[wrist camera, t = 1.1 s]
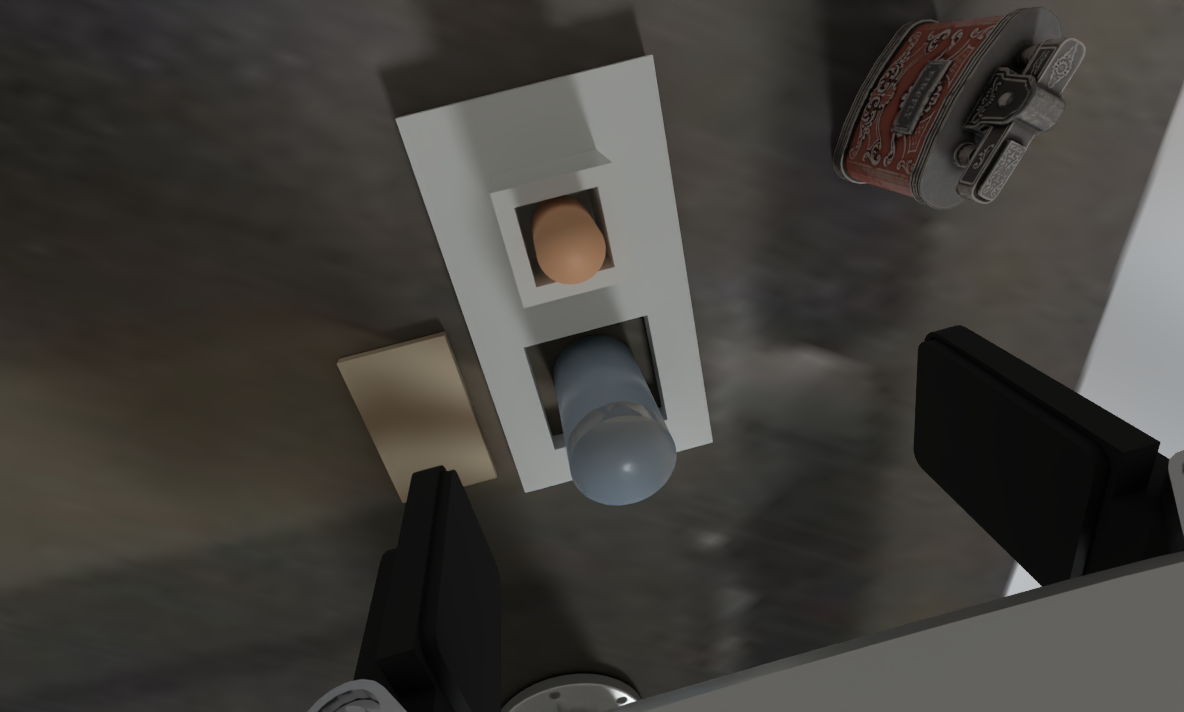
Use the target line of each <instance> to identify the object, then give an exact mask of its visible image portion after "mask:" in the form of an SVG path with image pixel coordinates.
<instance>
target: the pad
mask: <svg viewBox="0 0 1184 712" xmlns="http://www.w3.org/2000/svg"><path fill="white" fill-rule="evenodd" d="M337 366H338V368H339V370H340V372H341V374H342V376H343V378H344V381H345V383H346V385H347V387H348V389H349V391H350V393H351V395H352V397H353V400H354V402H355V404H356V406H357V408H358V410H359V412H360V414H361V416H362V419H363V421H364V423H365V425H366V427H367V429H368V431H369V433H370V435H371V438H372V440H373V442H374V444H375V446H376V448H377V450H378V452H379V454H380V457H381V459H382V461H383V463H384V465H385V467H386V469H387V471H388V474H389V476H390V478H391V480H392V482H393V484H394V486H395V488H396V490H397V493H398V495H399V497H400V499H401V501H402V503H405V502H406V501H407V496H408V491H409V487H410V482H411V477H412V474H413V473H414V472H418V471H421V470H425V469H429V468H432V467H436V466H440V465H443V466H444V467H445V468H446V470H447V471H450V470H456V472H457V474H458V476H459V478H460V480H461V483H462V485H463V487H464V486H468V485H472V484H476V483H479V482H483V481H487V480H490V479H494V478H497V471H496V468H495V465H494V462H493V460H492V457H491V454H490V452H489V449H488V446H487V443H486V441H485V438H484V435H483V433H482V430H481V427H480V424H479V422H478V419H477V416H476V414H475V411H474V408H473V405H472V403H471V400H470V397H469V394H468V392H467V389H466V386H465V384H464V381H463V378H462V375H461V373H460V370H459V367H458V365H457V362H456V359H455V356H454V354H453V351H452V348H451V346H450V343H449V340H448V337H447V335H446V332H445V331H444V332H440V333H436V334H432V335H428V336H425V337H421V338H417V339H413V340H409V341H405V342H402V343H398V344H394V345H390V346H386V347H382V348H379V349H375V350H371V351H367V352H363V353H359V354H356V355H352V356H348V357H344V358H340V359H339V360H338V362H337Z"/></svg>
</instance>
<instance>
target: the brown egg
mask: <svg viewBox="0 0 1184 712" xmlns="http://www.w3.org/2000/svg"><path fill="white" fill-rule="evenodd" d="M531 232H532V236H533V241H534V246H535V251H536V256H537V260H538V263H539V265H540V267H541V269H542V270H543V272H544V273H545V274H546V275H547V276H548V277H549V278H551V279H552V280H554V281H556V282H559V283H562V284H578V283H582V282H584V281H586V280H588V279H590V278H591V277H593V276H594V275H595V274H596V273H597V272H598V270H599V269H600V268H601V266H602V264H603V261H604V258H605V253H606V246H605V241H604V237H603V235H602V233H601V232H600V230H599V228H598V227H597V225H596V224H595V222H594V220H593V219H592V217H591V216H590V214H589V213H588V211H587V209H586V208H585V206H584V205H583V204H582V203H581V202H580V201H579V200H577V199H576V198H574V197H572V196H569V195H563V196H559V197H555V198H551V199H547V200H543V201H542V202H540V203H539V204H538V206H537V207H536V208H535V210H534V212H533V214H532V218H531Z"/></svg>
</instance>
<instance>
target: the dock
mask: <svg viewBox="0 0 1184 712" xmlns="http://www.w3.org/2000/svg"><path fill="white" fill-rule="evenodd" d="M396 122H397V125H398V128H399V131H400V134H401V137H402V139H403V142H404V145H405V148H406V151H407V154H408V157H409V160H410V162H411V165H412V168H413V171H414V174H415V177H416V180H417V183H418V185H419V188H420V191H421V194H422V197H423V200H424V203H425V206H426V209H427V211H428V214H429V217H430V220H431V223H432V226H433V229H434V232H435V234H436V237H437V240H438V243H439V246H440V249H441V252H442V255H443V257H444V260H445V263H446V266H447V269H448V272H449V275H450V278H451V280H452V283H453V286H454V289H455V292H456V295H457V298H458V301H459V303H460V306H461V309H462V312H463V315H464V318H465V321H466V324H467V327H468V329H469V332H470V335H471V338H472V341H473V344H474V347H475V350H476V352H477V355H478V358H479V361H480V364H481V367H482V370H483V373H484V375H485V378H486V381H487V384H488V387H489V390H490V393H491V396H492V398H493V401H494V404H495V407H496V410H497V413H498V416H499V419H500V422H501V424H502V427H503V430H504V433H505V436H506V439H507V442H508V445H509V447H510V450H511V453H512V456H513V459H514V462H515V465H516V468H517V470H518V473H519V476H520V479H521V482H522V485H523V488H524V491H525V493H527V492H531V491H534V490H538V489H542V488H545V487H549V486H553V485H556V484H560V483H564V482H568V481H571V480H573V479H572V477H571V472H570V467H569V462H568V456H567V451H566V445H565V440H564V434H559V435H555V436H553V435H552V432H551V429H550V426H549V422H548V419H547V416H546V412H545V409H544V406H543V402H542V399H541V396H540V393H539V389H538V386H537V383H536V379H535V376H534V373H533V370H532V366H531V363H530V360H529V356H528V353H527V350H526V347H528V346H532V345H535V344H539V343H543V342H547V341H551V340H554V339H558V338H562V337H566V336H570V335H573V334H577V333H581V332H585V331H589V330H593V329H596V328H600V327H604V326H608V325H612V324H615V323H619V322H623V321H627V320H631V319H634V318H638V317H642V316H644V320H645V326H646V331H647V336H648V341H649V346H650V351H651V356H652V361H653V366H654V371H655V376H656V381H657V387H658V392H659V397H660V402H661V407H660V408H658V409H659V411H660V413H661V415H662V417H663V419H664V421H665V423H666V426H667V428H668V430H669V432H670V434H671V436H672V438H673V440H674V443H675V446H676V452H679V451H682V450H686V449H690V448H693V447H697V446H701V445H704V444H708V443H712V442H713V440H712V434H711V428H710V421H709V415H708V408H707V402H706V395H705V389H704V382H703V376H702V369H701V363H700V357H699V350H698V344H697V337H696V331H695V324H694V318H693V311H692V305H691V299H690V292H689V286H688V279H687V273H686V266H685V260H684V253H683V247H682V240H681V234H680V228H679V221H678V215H677V208H676V202H675V195H674V189H673V182H672V176H671V169H670V163H669V157H668V150H667V144H666V137H665V131H664V124H663V118H662V111H661V105H660V98H659V92H658V86H657V79H656V73H655V66H654V60H653V55H645V56H641V57H637V58H633V59H629V60H625V61H621V62H617V63H613V64H609V65H605V66H601V67H597V68H593V69H589V70H585V71H581V72H577V73H573V74H569V75H565V76H561V77H557V78H553V79H549V80H545V81H541V82H537V83H533V84H529V85H525V86H521V87H517V88H513V89H508V90H504V91H500V92H496V93H492V94H488V95H484V96H480V97H476V98H472V99H468V100H464V101H460V102H456V103H452V104H448V105H444V106H440V107H436V108H432V109H428V110H424V111H420V112H416V113H412V114H408V115H404V116H400V117H398V118H396ZM563 195H569V196H572V197H574V198H576V199H577V200H579V201H580V202H581V203H582V204H583V205H584V206H585V208H586V209H587V211H588V213H589V214H590V216H591V217H592V219H593V220H594V222H595V224H596V225H597V227H598V228H599V230H600V232H601V233H602V235H603V237H604V241H605V246H606V253H605V258H604V261H603V264H602V266H601V268H600V269H599V270H598V272H597V273H596V274H595V275H594V276H593V277H591V278H590V279H588V280H586V281H584V282H582V283H578V284H562V283H559V282H556V281H554V280H552V279H551V278H549V277H548V276H547V275H546V274H545V273H544V272H543V270H542V269H541V267H540V265H539V263H538V260H537V256H536V251H535V246H534V241H533V236H532V232H531V218H532V214H533V212H534V210H535V208H536V207H537V206H538V204H539V203H540V202H542V201H543V200H547V199H551V198H555V197H559V196H563Z"/></svg>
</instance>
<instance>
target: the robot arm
mask: <svg viewBox="0 0 1184 712" xmlns="http://www.w3.org/2000/svg"><path fill="white" fill-rule="evenodd" d="M1159 445H1160V442H1159V441H1158V440H1156V439H1154V438H1153V437H1151V436H1149V435H1147V434H1146V433H1144V432H1142V431H1141V430H1139V429H1137V428H1135V427H1134V426H1132V425H1130V424H1129V423H1127V422H1125V421H1124V420H1122V419H1120V418H1118V417H1117V416H1115V415H1113V414H1112V413H1110V412H1108V411H1107V410H1105V409H1103V408H1102V407H1100V406H1098V405H1096V404H1095V403H1093V402H1091V401H1090V400H1088V399H1086V398H1084V397H1083V396H1081V395H1080V394H1078V393H1076V392H1074V391H1073V390H1071V389H1069V388H1068V387H1066V386H1064V385H1063V384H1061V383H1059V382H1057V381H1056V380H1054V379H1052V378H1051V377H1049V376H1047V375H1046V374H1044V373H1042V372H1040V371H1039V370H1037V369H1035V368H1034V367H1032V366H1030V365H1029V364H1027V363H1025V362H1024V361H1022V360H1020V359H1018V358H1017V357H1015V356H1013V355H1012V354H1010V353H1008V352H1007V351H1005V350H1003V349H1001V348H1000V347H998V346H996V345H995V344H993V343H991V342H990V341H988V340H986V339H984V338H983V337H981V336H979V335H978V334H976V333H974V332H973V331H971V330H969V329H967V328H966V327H963V326H961V325H959V326H953V327H949V328H946V329H942V330H938V331H935V332H931V333H929V334H928V335H927V336H926V338H925V341H924V342H922V343H921V344H920V345H919V348H918V362H917V385H916V408H915V431H914V454H915V458H916V460H917V462H918V464H919V465H920V467H921V468H922V469H923V470H924V471H925V472H926V473H927V474H928V475H929V476H930V477H931V478H932V479H933V480H934V481H935V482H936V483H937V484H938V485H939V486H940V487H941V488H942V489H943V490H944V491H945V492H946V493H947V494H949V495H950V496H951V497H952V498H953V499H954V500H955V501H956V502H957V503H958V504H959V505H960V506H961V507H962V508H963V509H964V510H965V511H966V512H967V513H968V514H969V515H970V516H971V517H972V518H973V519H974V520H975V521H976V522H977V523H978V524H979V525H980V526H981V527H982V528H983V529H984V530H985V531H986V532H987V533H988V534H989V535H990V536H991V537H992V538H993V539H994V540H995V541H996V542H997V543H998V544H999V545H1000V546H1001V547H1002V548H1004V549H1005V550H1006V551H1007V552H1008V553H1009V554H1010V555H1011V556H1012V557H1013V558H1014V559H1015V560H1016V561H1017V562H1018V563H1019V564H1020V565H1021V566H1022V567H1023V568H1024V569H1025V570H1026V571H1027V572H1028V573H1029V574H1030V575H1031V576H1032V577H1033V578H1034V579H1035V580H1036V581H1037V582H1038V583H1039V584H1040V585H1041V586H1042V587H1040V588H1036V589H1032V590H1029V591H1025V592H1022V593H1018V594H1014V595H1011V596H1007V597H1003V598H1000V599H996V600H992V601H989V602H985V603H982V604H978V605H974V606H971V607H967V608H963V609H960V610H956V611H952V612H949V613H945V614H942V615H938V616H934V617H931V618H927V619H924V620H920V621H916V622H913V623H909V624H906V625H902V626H899V627H895V628H892V629H888V630H884V631H881V632H877V633H874V634H870V635H867V636H863V637H859V638H856V639H852V640H849V641H845V642H842V643H838V644H835V645H831V646H827V647H824V648H820V649H817V650H813V651H810V652H806V653H803V654H799V655H796V656H792V657H789V658H785V659H781V660H778V661H774V662H771V663H767V664H764V665H760V666H757V667H753V668H750V669H746V670H743V671H739V672H736V673H732V674H729V675H726V676H722V677H719V678H715V679H712V680H708V681H705V682H701V683H698V684H694V685H691V686H687V687H684V688H680V689H677V690H673V691H670V692H666V693H663V694H659V695H656V696H653V697H649V698H646V699H641V698H640V696H639V695H638V693H637V692H636V691H635V690H634V689H632V688H631V687H630V686H629V685H627V684H625V683H623V682H621V681H620V680H617V679H614V678H611V677H608V676H603V675H597V674H570V675H562V676H558V677H554V678H550V679H547V680H544V681H541V682H539V683H536V684H534V685H532V686H530V687H528V688H526V689H525V690H523V691H521V692H520V693H518V694H517V695H516V696H515V697H513V698H512V699H511V700H509V701H508V703H507V704H506V705H505V706H504V707H503V708H502V709H501V621H500V577H499V572H498V568H497V565H496V562H495V560H494V558H493V555H492V553H491V551H490V548H489V546H488V544H487V541H486V539H485V537H484V534H483V532H482V530H481V527H480V525H479V523H478V520H477V518H476V516H475V513H474V511H473V508H472V506H471V504H470V501H469V499H468V497H467V494H466V492H465V490H464V487H463V485H462V483H461V480H460V478H459V476H458V474H457V472H456V470H450V471H447V470H446V468H445V467H444V466H443V465H440V466H436V467H432V468H429V469H425V470H421V471H418V472H414V473H413V474H412V477H411V482H410V487H409V491H408V496H407V501H406V506H405V511H404V516H403V521H402V526H401V531H400V536H399V541H398V546H397V548H396V549H392V550H388V551H386V552H385V553H384V554H383V556H382V559H381V562H380V566H379V571H378V575H377V579H376V584H375V588H374V593H373V597H372V601H371V606H370V610H369V615H368V619H367V623H366V628H365V632H364V636H363V641H362V645H361V650H360V654H359V658H358V663H357V667H356V671H355V676H354V680H353V681H350V682H347V683H345V684H343V685H340V686H338V687H336V688H334V689H332V690H331V691H330V692H328V693H327V694H326V695H324V696H323V697H322V698H320V699H319V700H318V701H317V702H316V703H315V704H314V705H313V706H312V707H311V708H310V710H309V711H308V712H1184V450H1183V451H1180V452H1178V453H1176V454H1175V455H1174V456H1173V457H1172V458H1171V459H1168V458H1167V457H1165V456H1163V455H1162V454H1160V453H1158V449H1159Z"/></svg>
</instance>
